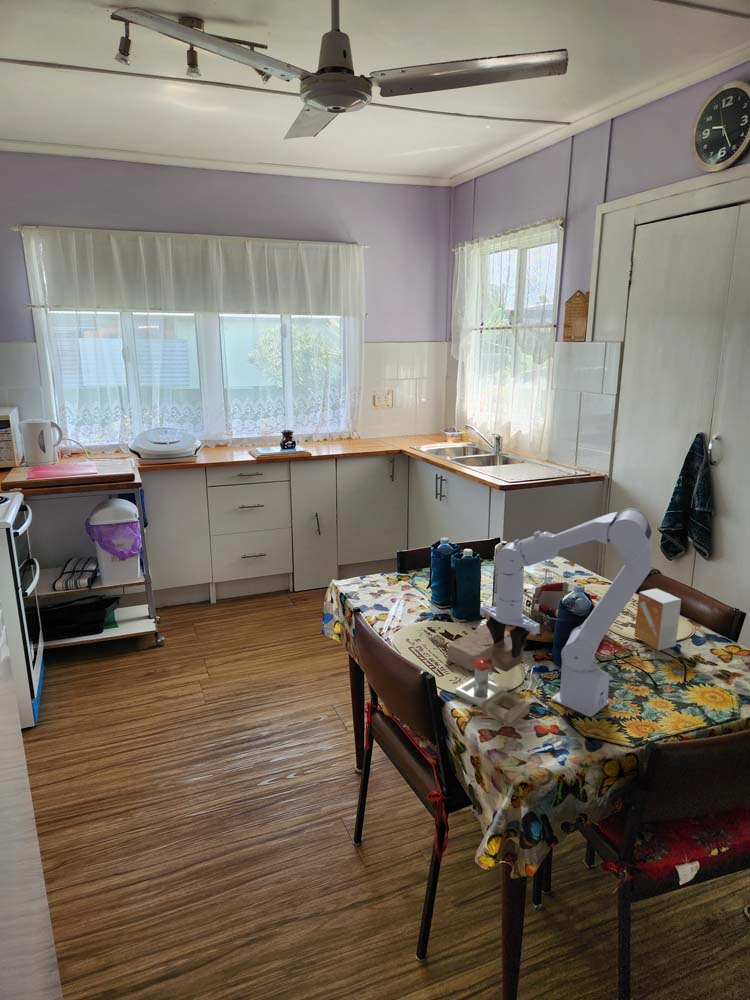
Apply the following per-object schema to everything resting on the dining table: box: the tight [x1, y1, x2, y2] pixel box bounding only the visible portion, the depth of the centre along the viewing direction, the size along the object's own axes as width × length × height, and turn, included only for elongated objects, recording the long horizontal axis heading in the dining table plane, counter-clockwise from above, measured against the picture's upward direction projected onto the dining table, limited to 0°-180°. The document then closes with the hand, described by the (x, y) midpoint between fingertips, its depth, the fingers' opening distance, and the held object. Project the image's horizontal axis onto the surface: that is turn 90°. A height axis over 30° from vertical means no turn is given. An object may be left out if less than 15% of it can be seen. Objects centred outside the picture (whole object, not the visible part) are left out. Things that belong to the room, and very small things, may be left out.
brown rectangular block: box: [491, 637, 524, 673], centre depth 145 cm, size 4×6×5 cm, turn 134°
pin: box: [473, 657, 492, 698], centre depth 141 cm, size 4×4×8 cm
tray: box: [454, 677, 508, 709], centre depth 142 cm, size 8×8×2 cm
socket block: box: [481, 690, 531, 728], centre depth 135 cm, size 7×7×2 cm
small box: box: [634, 588, 682, 652], centre depth 164 cm, size 8×6×13 cm
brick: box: [446, 623, 511, 671], centre depth 160 cm, size 17×8×5 cm, turn 135°
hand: (507, 652), depth 145 cm, fingers closed on brown rectangular block, 4 cm apart
